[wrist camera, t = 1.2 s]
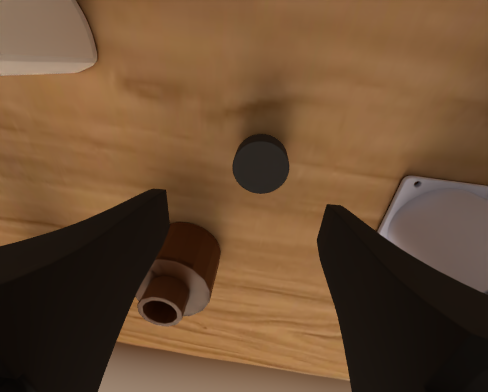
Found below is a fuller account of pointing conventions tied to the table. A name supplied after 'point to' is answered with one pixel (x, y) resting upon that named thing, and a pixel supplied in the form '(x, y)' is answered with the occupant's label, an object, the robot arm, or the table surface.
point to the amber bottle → (179, 276)
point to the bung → (261, 164)
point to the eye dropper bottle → (44, 38)
